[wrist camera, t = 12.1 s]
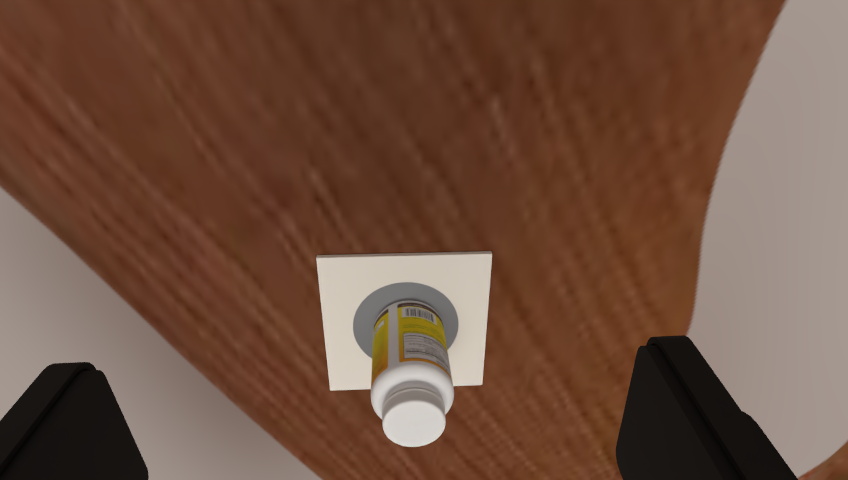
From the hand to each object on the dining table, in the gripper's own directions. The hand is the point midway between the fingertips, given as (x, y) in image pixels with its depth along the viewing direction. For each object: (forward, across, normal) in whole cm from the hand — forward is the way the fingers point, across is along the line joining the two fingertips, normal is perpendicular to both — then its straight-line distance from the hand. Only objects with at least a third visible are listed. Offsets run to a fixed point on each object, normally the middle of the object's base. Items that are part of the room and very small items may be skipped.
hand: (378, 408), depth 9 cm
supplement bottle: (+26, 0, +19) cm, 33 cm away
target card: (+27, 0, +19) cm, 33 cm away
